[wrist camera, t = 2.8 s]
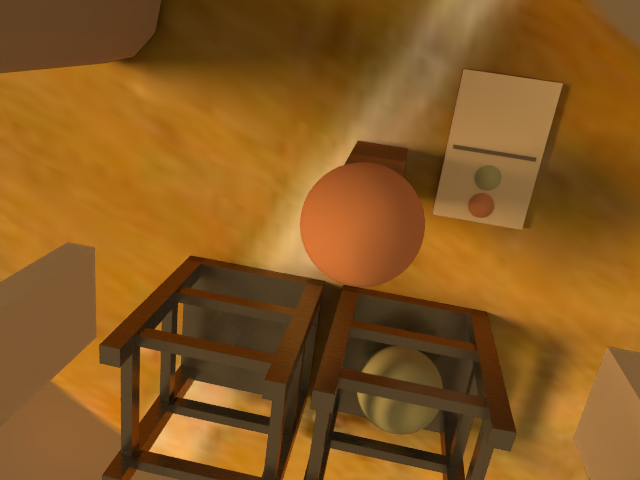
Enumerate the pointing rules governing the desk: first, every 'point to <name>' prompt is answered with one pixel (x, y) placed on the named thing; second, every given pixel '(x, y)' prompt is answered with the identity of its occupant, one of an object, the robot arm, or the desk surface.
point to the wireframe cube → (217, 361)
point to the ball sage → (405, 368)
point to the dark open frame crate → (451, 362)
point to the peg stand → (379, 156)
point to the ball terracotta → (362, 224)
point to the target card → (495, 147)
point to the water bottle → (72, 32)
